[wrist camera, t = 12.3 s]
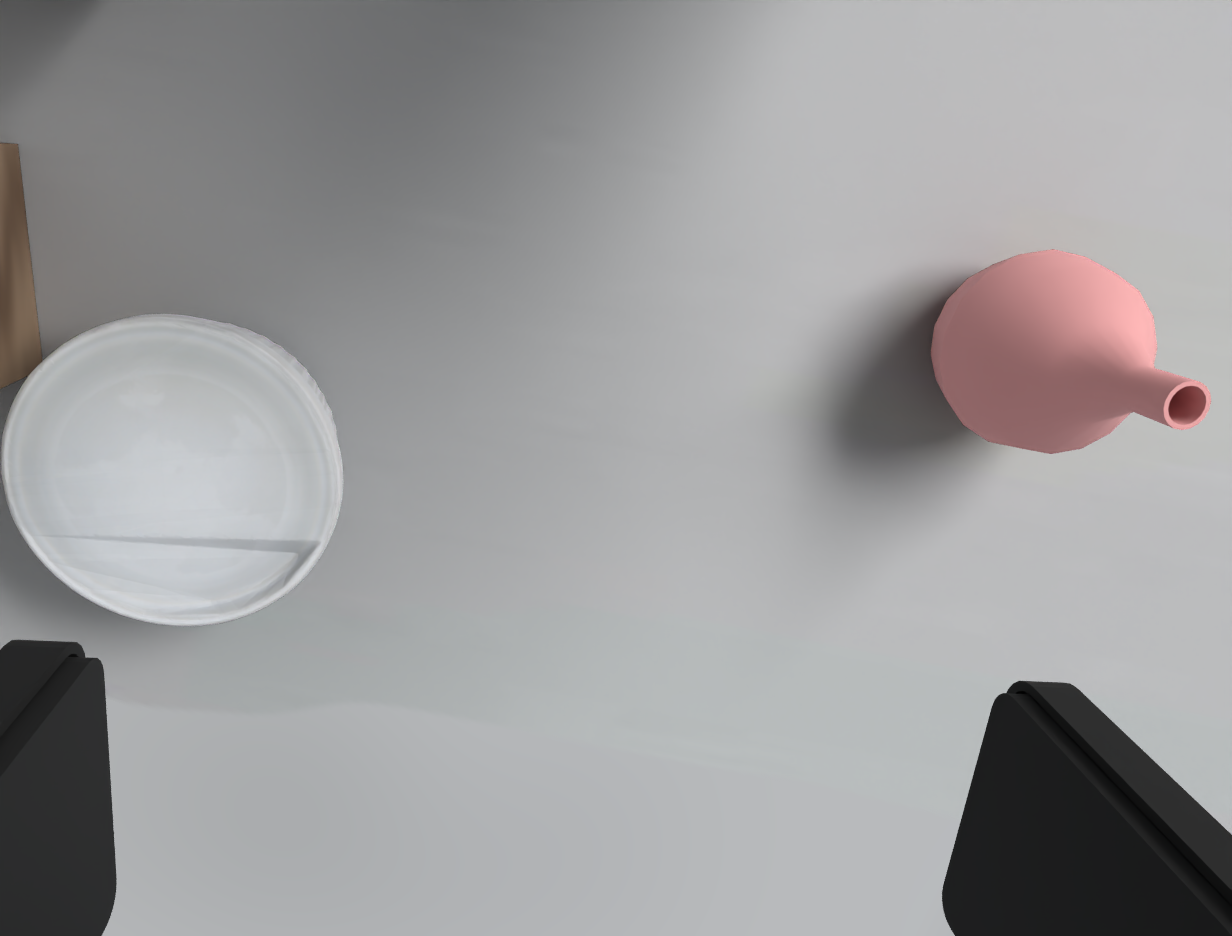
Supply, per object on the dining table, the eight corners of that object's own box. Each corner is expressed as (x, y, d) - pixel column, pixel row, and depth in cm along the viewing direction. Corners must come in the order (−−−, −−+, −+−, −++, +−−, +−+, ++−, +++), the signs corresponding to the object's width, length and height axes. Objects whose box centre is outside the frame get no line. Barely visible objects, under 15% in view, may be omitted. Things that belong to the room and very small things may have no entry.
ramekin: (176, 615, 40) (131, 681, 35) (-3, 384, 36) (-82, 421, 31) (412, 489, 39) (402, 538, 34) (256, 243, 36) (219, 257, 31)
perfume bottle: (1002, 201, 39) (1215, 220, 27) (1111, 325, 41) (1350, 390, 30) (866, 345, 40) (1017, 420, 28) (980, 458, 42) (1162, 569, 31)
